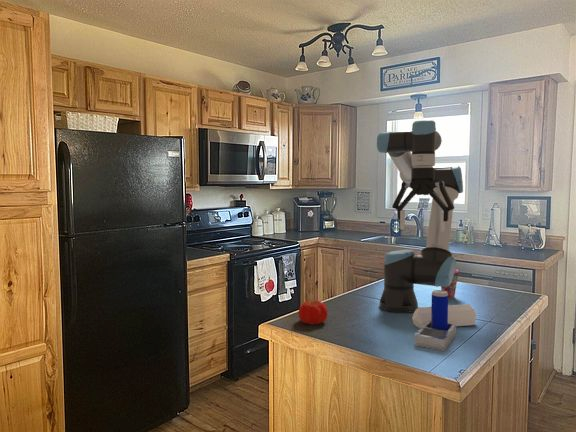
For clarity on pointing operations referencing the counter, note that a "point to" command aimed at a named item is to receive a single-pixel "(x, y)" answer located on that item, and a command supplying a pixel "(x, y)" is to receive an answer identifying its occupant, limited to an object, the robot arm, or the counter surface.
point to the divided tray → (435, 336)
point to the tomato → (313, 312)
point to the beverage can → (439, 310)
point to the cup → (451, 285)
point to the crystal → (456, 315)
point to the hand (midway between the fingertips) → (422, 230)
